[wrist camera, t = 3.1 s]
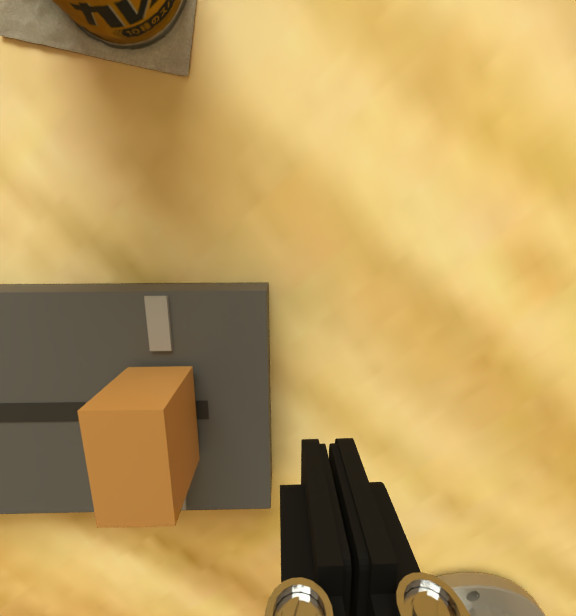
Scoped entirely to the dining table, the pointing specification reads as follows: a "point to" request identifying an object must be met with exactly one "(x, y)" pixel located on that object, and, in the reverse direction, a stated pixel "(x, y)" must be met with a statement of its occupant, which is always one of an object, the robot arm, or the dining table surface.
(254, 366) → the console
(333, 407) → the dining table surface
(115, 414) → the fader tab
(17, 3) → the condiment
